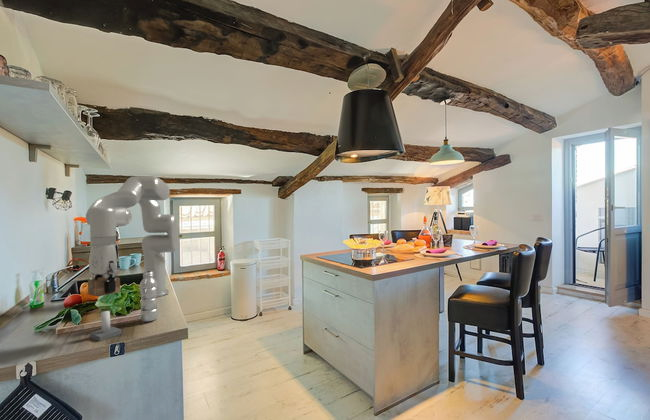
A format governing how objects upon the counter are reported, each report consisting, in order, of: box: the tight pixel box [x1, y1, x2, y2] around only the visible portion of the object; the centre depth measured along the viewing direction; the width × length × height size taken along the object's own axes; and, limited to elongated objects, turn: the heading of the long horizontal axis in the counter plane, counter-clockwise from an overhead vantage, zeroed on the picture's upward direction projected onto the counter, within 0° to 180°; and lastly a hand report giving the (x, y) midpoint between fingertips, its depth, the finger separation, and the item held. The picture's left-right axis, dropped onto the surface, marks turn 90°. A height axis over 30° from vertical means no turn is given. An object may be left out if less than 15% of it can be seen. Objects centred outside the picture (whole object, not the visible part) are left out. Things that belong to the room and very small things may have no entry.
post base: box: [89, 310, 123, 342], centre depth 109 cm, size 7×7×8 cm
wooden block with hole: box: [87, 275, 121, 298], centre depth 108 cm, size 7×7×5 cm
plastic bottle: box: [138, 271, 159, 323], centre depth 122 cm, size 6×7×20 cm
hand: (104, 290), depth 108 cm, fingers closed on wooden block with hole, 7 cm apart
